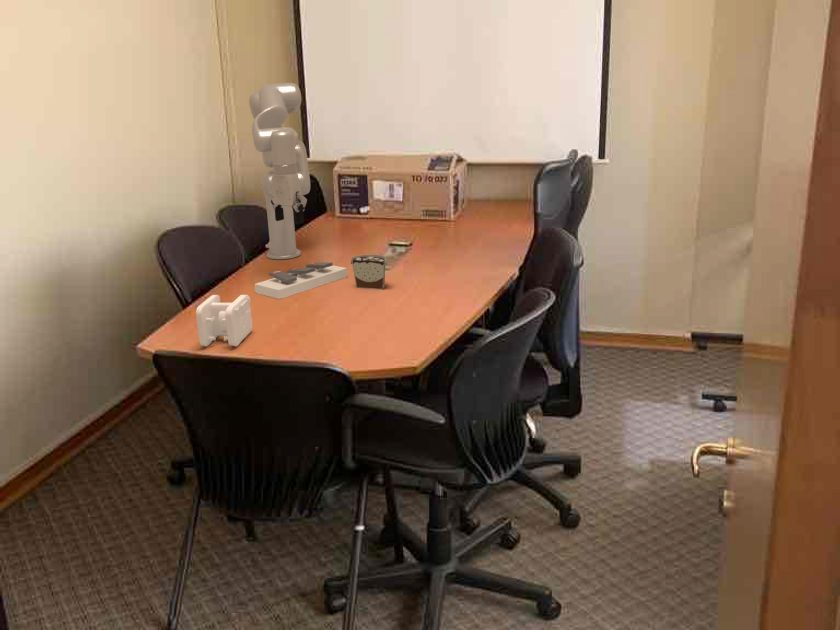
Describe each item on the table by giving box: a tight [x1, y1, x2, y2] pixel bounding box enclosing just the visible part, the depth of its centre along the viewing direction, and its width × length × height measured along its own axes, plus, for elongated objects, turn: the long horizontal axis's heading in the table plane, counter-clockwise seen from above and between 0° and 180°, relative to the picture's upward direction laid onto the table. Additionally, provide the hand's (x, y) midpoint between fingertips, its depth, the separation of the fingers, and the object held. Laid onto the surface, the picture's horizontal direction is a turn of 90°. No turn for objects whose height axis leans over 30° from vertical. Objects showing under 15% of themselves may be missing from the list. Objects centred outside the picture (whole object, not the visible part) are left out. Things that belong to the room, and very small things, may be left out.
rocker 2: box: [287, 267, 315, 274], centre depth 288 cm, size 9×4×1 cm, turn 49°
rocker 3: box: [305, 261, 334, 268], centre depth 294 cm, size 9×4×1 cm, turn 49°
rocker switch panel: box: [254, 264, 348, 300], centre depth 289 cm, size 12×30×4 cm, turn 139°
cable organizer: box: [195, 294, 253, 348], centre depth 240 cm, size 15×11×12 cm
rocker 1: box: [268, 269, 297, 283], centre depth 283 cm, size 9×4×1 cm, turn 49°
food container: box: [350, 253, 388, 291], centre depth 283 cm, size 12×6×10 cm, turn 71°
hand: (289, 221), depth 286 cm, fingers open, 9 cm apart
